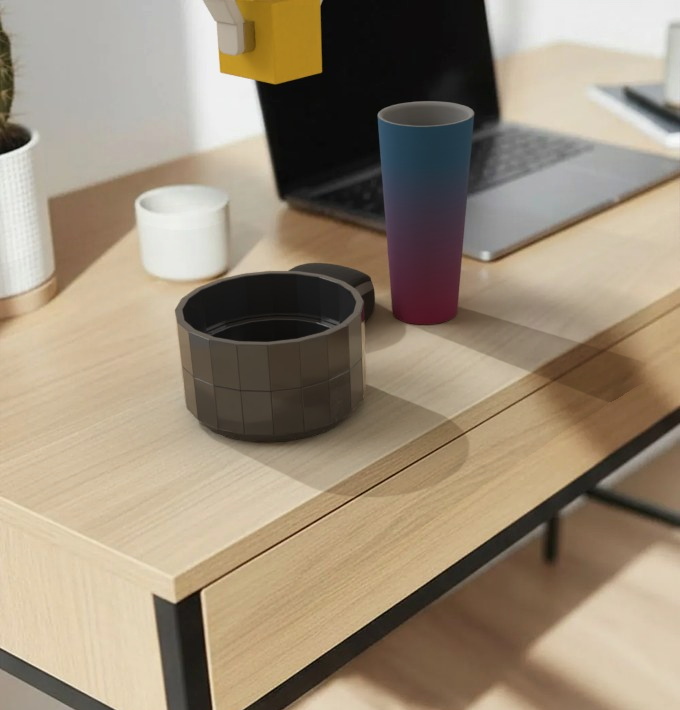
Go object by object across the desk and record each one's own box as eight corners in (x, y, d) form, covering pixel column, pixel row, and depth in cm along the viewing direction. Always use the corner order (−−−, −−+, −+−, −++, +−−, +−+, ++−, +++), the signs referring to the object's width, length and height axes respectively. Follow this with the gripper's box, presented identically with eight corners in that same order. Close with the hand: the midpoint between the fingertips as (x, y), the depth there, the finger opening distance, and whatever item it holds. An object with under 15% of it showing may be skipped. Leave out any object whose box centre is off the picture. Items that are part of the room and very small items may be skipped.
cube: (322, 72, 74) (320, -7, 71) (275, 84, 71) (271, 3, 69) (266, 61, 77) (262, -15, 74) (219, 72, 74) (213, -6, 72)
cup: (484, 319, 91) (491, 118, 83) (402, 336, 89) (401, 131, 81) (445, 288, 96) (448, 96, 88) (367, 303, 94) (362, 108, 86)
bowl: (402, 396, 81) (401, 299, 77) (274, 466, 73) (266, 362, 70) (277, 349, 88) (271, 257, 84) (149, 408, 81) (136, 311, 77)
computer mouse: (231, 345, 89) (226, 294, 86) (318, 288, 97) (315, 241, 95) (311, 364, 85) (309, 311, 83) (394, 303, 94) (393, 254, 92)
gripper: (143, -215, 57) (170, 84, 65) (421, -227, 70) (418, 25, 77) (65, -215, 61) (100, 68, 69) (342, -226, 73) (346, 14, 81)
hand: (270, 45), depth 73 cm, fingers closed on cube, 4 cm apart
